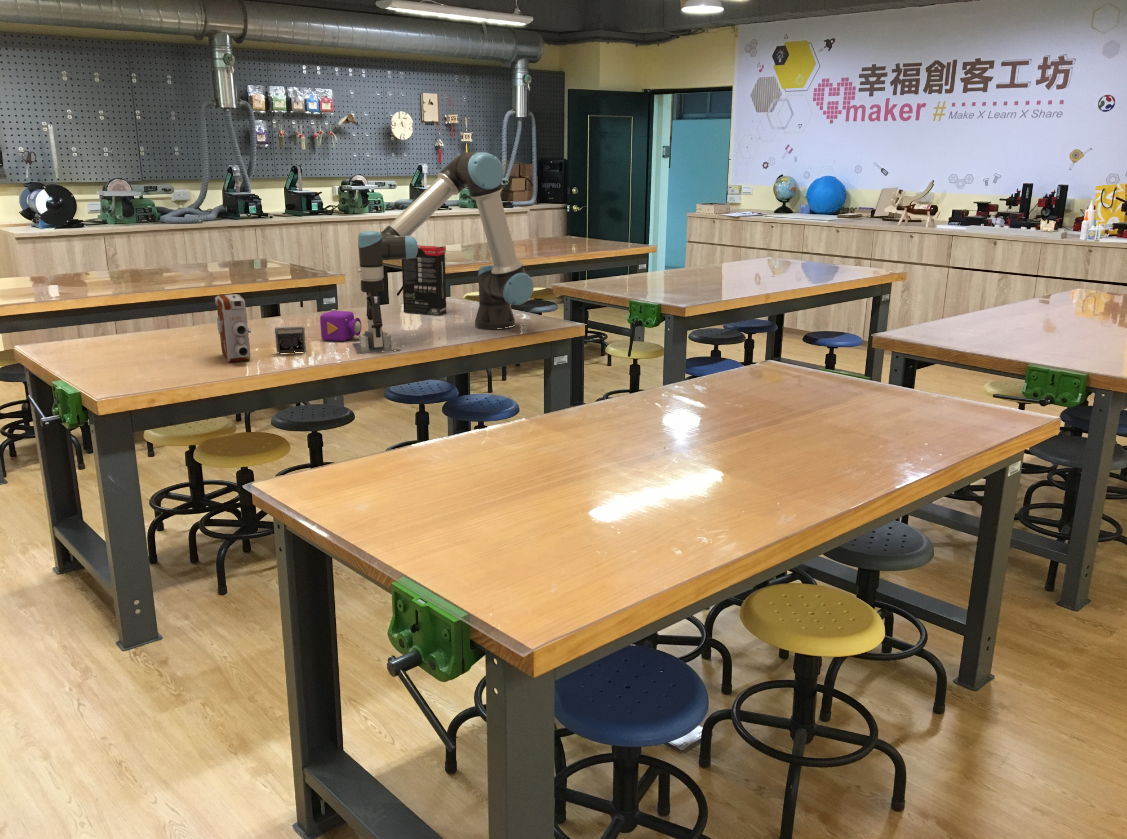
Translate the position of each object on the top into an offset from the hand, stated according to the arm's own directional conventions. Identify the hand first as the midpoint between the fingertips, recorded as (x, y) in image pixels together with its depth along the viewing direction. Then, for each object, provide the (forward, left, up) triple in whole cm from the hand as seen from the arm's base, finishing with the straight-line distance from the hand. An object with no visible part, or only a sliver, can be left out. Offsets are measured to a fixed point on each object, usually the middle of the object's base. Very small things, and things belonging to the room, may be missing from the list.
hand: (375, 342), depth 303 cm
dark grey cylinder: (0, 0, -1) cm, 1 cm away
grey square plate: (0, 0, -2) cm, 2 cm away
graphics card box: (-28, -60, -2) cm, 66 cm away
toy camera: (+9, -18, -2) cm, 20 cm away
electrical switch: (+27, 0, -2) cm, 27 cm away
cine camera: (+44, +4, -2) cm, 44 cm away
